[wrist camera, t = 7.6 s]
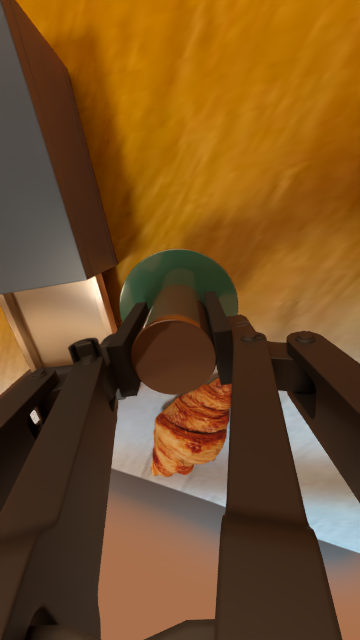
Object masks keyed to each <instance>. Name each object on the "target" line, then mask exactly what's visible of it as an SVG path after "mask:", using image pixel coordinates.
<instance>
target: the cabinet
mask: <svg viewBox="0 0 360 640" xmlns="http://www.w3.org/2000/svg"><path fill="white" fill-rule="evenodd" d="M116 265H117V260H116V256H115V253H114V249H113V245H112V241H111V237H110V233H109V229H108V225H107V222H106V218H105V214H104V210H103V206H102V202H101V198H100V194H99V190H98V187H97V183H96V179H95V175H94V171H93V167H92V163H91V159H90V156H89V152H88V148H87V144H86V140H85V136H84V132H83V128H82V125H81V121H80V117H79V113H78V109H77V105H76V101H75V97H74V94H73V90H72V86H71V82H70V78H69V74H68V70H67V68H66V66H65V65H64V64H63V62H62V61H61V60H60V58H59V57H58V56H57V54H56V53H55V52H54V50H53V49H52V48H51V46H50V45H49V44H48V43H47V41H46V40H45V39H44V37H43V36H42V35H41V33H40V32H39V31H38V29H37V28H36V27H35V25H34V24H33V23H32V21H31V20H30V19H29V18H28V16H27V15H26V14H25V12H24V11H23V10H22V8H21V7H20V6H19V4H18V3H17V2H16V0H0V294H6V293H12V292H18V291H24V290H31V289H37V288H43V287H49V286H55V285H61V284H67V283H73V282H79V281H85V280H88V279H90V278H92V277H94V276H96V275H98V274H100V273H102V272H104V271H106V270H108V269H110V268H112V267H114V266H116Z"/></svg>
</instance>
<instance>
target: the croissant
mask: <svg viewBox="0 0 360 640" xmlns="http://www.w3.org/2000/svg"><path fill="white" fill-rule="evenodd" d="M231 392H232V384H228V385H221V384H220V380H219V378H218V379H216V380H215V381H214V382H211V383H210V384H204V385H202V386H201V387H200V388H198V389H196V390H194V391H192V392H189V393H187V394H184V395H182V396H180V397H178V398H177V399H176V400H175V401H174V402H173V403H172V404H171V405H170V406H169V407H167V408H166V409H165V410H163V411H162V413H160V414H159V415H158V416H157V417H156V419H155V430H154V443H155V445H154V448H153V462H152V466H151V469H152V473H153V475H154V476H157V475H161V476H165V477H169V476H172V475H173V473H179V474H183V475H186V474H188V473H190V472H192V470H193V467H194V464H204V463H207V462H209V461H213V460H215V458H216V456H217V455H218V454H219V452H220V451H221V449H222V448H223V445H224V443H225V439H226V433H227V429H226V426H227V424H228V421H229V408H230V407H231Z"/></svg>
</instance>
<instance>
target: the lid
mask: <svg viewBox="0 0 360 640" xmlns="http://www.w3.org/2000/svg"><path fill="white" fill-rule="evenodd" d="M210 291H215V292H216V295H217V297H218V299H219V302H220V304H221V306H222V308H223V311H224V313H225V315H226V317H227V316H234V315H237V314H238V298H237V292H236V289H235V286H234V284H233V282H232V280H231V278H230V276H229V275H228V273H227V272H226V271H225V270H224V269H223V267H222V266H221V265H220V264H219V263H217V262H216V261H215V260H214V259H212V258H211V257H209V256H207V255H205V254H203V253H201V252H198V251H195V250H191V249H185V248H173V249H166V250H162V251H159V252H156V253H154V254H152V255H150V256H148V257H146V258H145V259H143V260H142V261H141V262H140V263H138V264H137V265H136V266H135V267H134V268H133V269H132V271H131V272H130V273H129V275H128V276H127V278H126V280H125V282H124V284H123V287H122V290H121V295H120V314H121V319H122V322H123V321H124V320H125V318H126V317H127V315H128V314H129V312H130V311H131V309H132V308H133V307H134V305H135V304H136V303H140V302H147V306H148V313H147V315H146V317H145V319H144V321H143V323H142V325H141V328H140V330H139V332H138V334H137V336H136V338H135V340H134V343H133V345H132V349H131V363H132V367H133V369H134V371H135V373H136V375H137V376H138V378H139V379H140V380H141V381H142V382H143V383H144V384H145V385H146V386H148V387H149V388H151V389H153V390H155V391H158V392H160V393H164V394H171V395H178V394H185V393H189V392H192V391H194V390H196V389H198V388H200V387H201V386H202V385H204V384H205V383H206V382H207V381H208V380H209V378H210V377H211V375H212V374H213V372H214V369H215V366H216V360H217V357H216V350H215V345H214V341H213V337H212V332H211V328H210V324H209V320H208V315H207V311H206V306H205V299H204V292H210Z"/></svg>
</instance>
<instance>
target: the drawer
mask: <svg viewBox="0 0 360 640" xmlns="http://www.w3.org/2000/svg"><path fill="white" fill-rule="evenodd" d="M0 305H1V307H2V309H3V311H4V314H5V316H6V318H7V320H8V322H9V324H10V327H11V329H12V331H13V333H14V335H15V338H16V340H17V342H18V344H19V346H20V348H21V351H22V353H23V355H24V357H25V359H26V361H27V364H28V366H29V368H30V369H29V370H28V371H27V372H26V373H25V374H24V375H22V376H21V377H20V378H19V379H18V380H17V381H16V382H15V383H13V384H12V385H11V386H10V387H9V388H8V389H7V390H5V391H4V392H3V393H2V394H1V395H0V399H1V398H2V397H3V396H4V395H5V394H6V393H8V392H9V391H10V390H11V389H12V388H13V387H14V386H15V385H17V384H18V383H19V382H20V381H21V380H22V379H23V378H25V377H26V376H27V375H29V374H30V373H32V372H34V371H35V370H37V369H39V368H45V367H53V368H55V370H56V372H57V375H59V374H62V373H65V372H69V371H71V369H72V367H73V365H74V363H73V360H72V358H71V355H70V352H69V350H68V347H69V346H70V345H71V344H73V343H75V342H77V341H79V340H82V339H86V338H97V339H98V341H99V344H101V342H102V341H103V340H104V338H106V337H107V336H109V335H110V334H115V333H116V332H117V326H116V323H115V319H114V316H113V312H112V309H111V305H110V302H109V299H108V295H107V292H106V288H105V285H104V281H103V278H102V274H101V273H100V274H98V275H96V276H94V277H92V278H90V279H88V280H85V281H79V282H73V283H67V284H61V285H55V286H49V287H43V288H37V289H31V290H24V291H18V292H12V293H6V294H0ZM116 396H117V399H118V400H123V399H125V398H126V397H121V394H120V391H119V388H118V390H117V392H116ZM34 410H35V409H34ZM116 423H117V419H116Z"/></svg>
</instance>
